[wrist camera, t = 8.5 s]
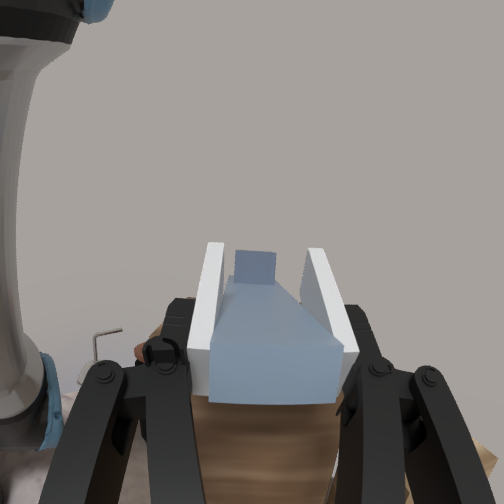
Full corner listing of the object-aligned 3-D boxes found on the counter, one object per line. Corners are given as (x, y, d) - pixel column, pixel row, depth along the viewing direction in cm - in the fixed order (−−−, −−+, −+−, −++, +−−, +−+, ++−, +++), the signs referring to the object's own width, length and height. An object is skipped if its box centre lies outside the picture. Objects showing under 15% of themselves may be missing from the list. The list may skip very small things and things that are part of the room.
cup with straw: (91, 411, 52) (81, 320, 52) (132, 417, 53) (125, 325, 53) (78, 431, 43) (63, 331, 43) (123, 439, 45) (112, 338, 44)
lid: (335, 402, 9) (352, 267, 9) (208, 401, 9) (213, 258, 9) (271, 299, 29) (274, 251, 29) (228, 296, 29) (230, 249, 29)
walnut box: (297, 583, 17) (361, 344, 17) (180, 581, 17) (145, 336, 16) (282, 507, 32) (309, 302, 31) (192, 504, 31) (185, 296, 31)
